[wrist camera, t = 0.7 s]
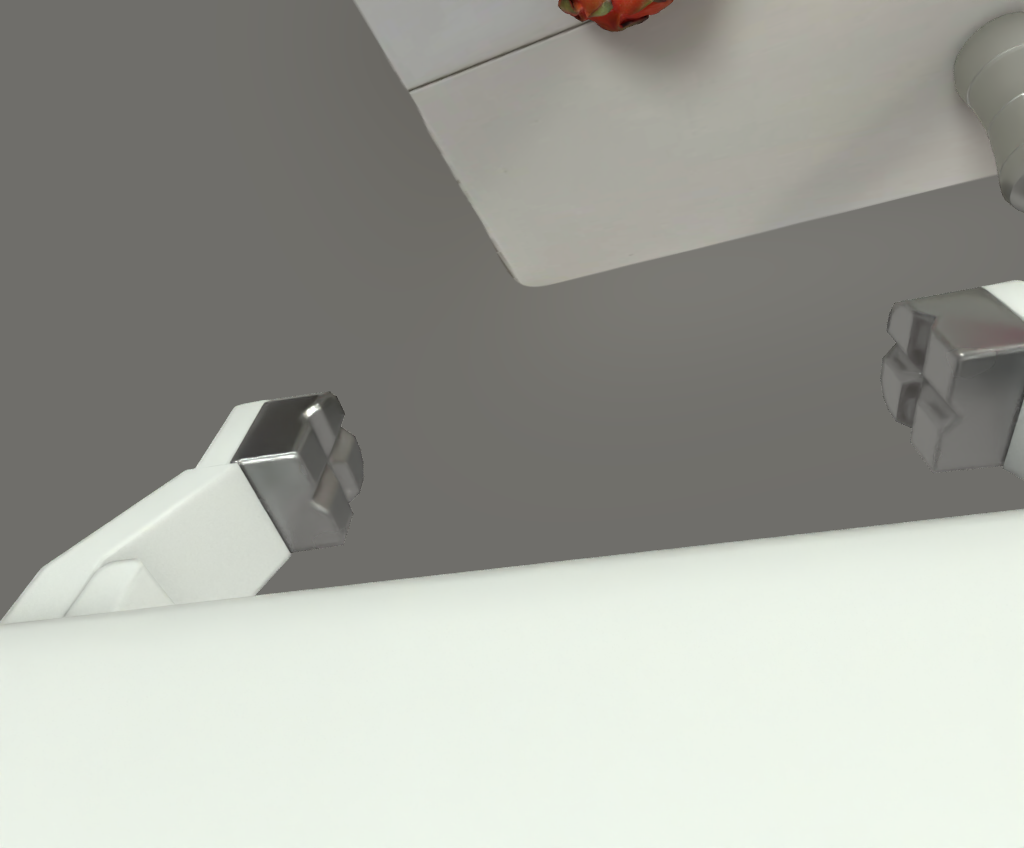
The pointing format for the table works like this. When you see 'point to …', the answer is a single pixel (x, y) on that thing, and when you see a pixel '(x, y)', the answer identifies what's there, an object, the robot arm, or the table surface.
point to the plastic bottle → (998, 95)
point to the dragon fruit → (613, 11)
